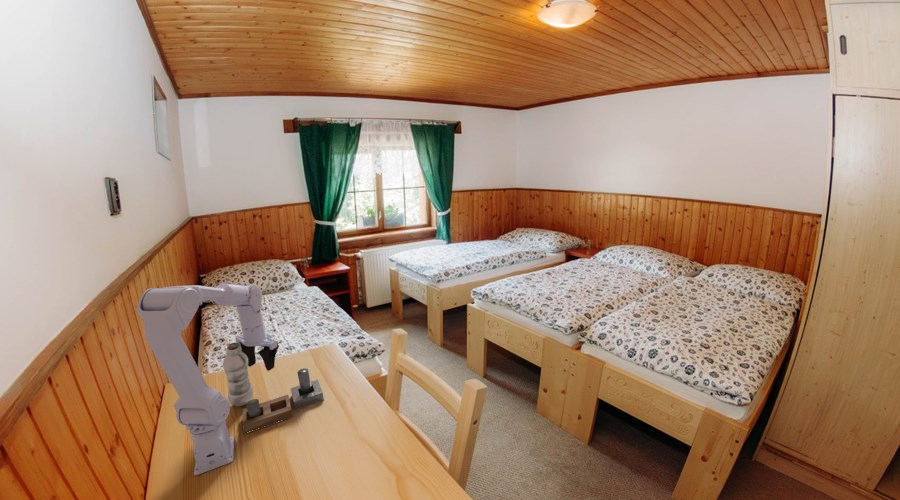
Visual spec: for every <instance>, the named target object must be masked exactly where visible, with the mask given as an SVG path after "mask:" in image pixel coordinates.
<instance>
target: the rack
mask: <svg viewBox="0 0 900 500" xmlns="http://www.w3.org/2000/svg"><path fill="white" fill-rule="evenodd" d="M259 401H260V400H259V399H258V398H253V399H251V400H250V401H248V402H247V403H246V404H245V405H246V407H245V408H243V409H242V428H243V433H244V434H245V433H246V434H248V433H247V432H249V431H252V430H255V431H257V430H256V429H258V428H261V429H263V428H265V427H264V426H266V427H269V426H271V424H272V425H274V423H275V424H277V423H276V422H278V421H280V422H282V421H281V420H283V421H286V420H288V418H289V419H292V418H293V417H294V415H293V411H292V405H291V402H290V397H289V394H286V395H283V396H279V397H276V398H274V399H269V400H268V401H264V402H261V403H260V402H259ZM280 408H281V409H280ZM277 409H278V410H277ZM291 417H292V418H291ZM285 419H286V420H285ZM278 423H279V422H278ZM268 425H269V426H268ZM262 427H263V428H262ZM258 430H259V429H258ZM252 432H253V431H252ZM249 433H250V432H249Z"/></svg>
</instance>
